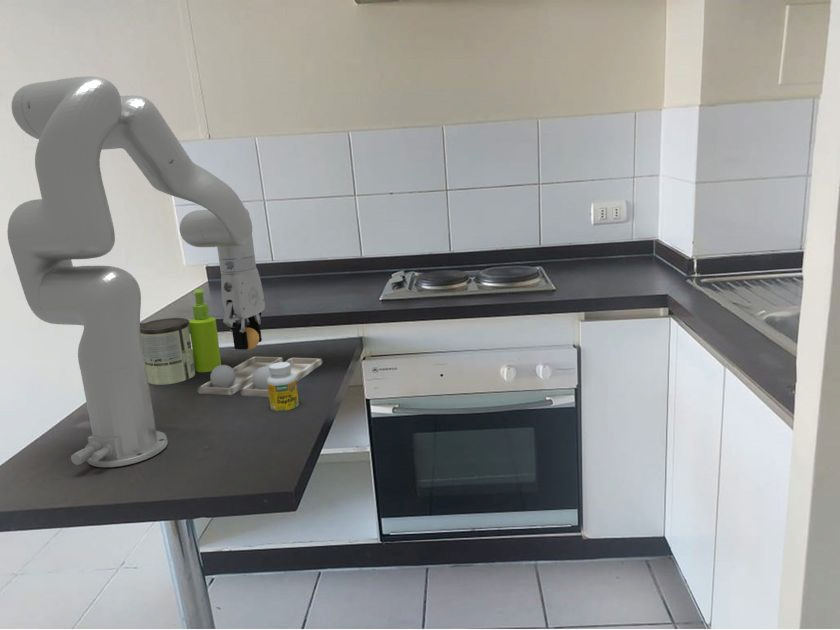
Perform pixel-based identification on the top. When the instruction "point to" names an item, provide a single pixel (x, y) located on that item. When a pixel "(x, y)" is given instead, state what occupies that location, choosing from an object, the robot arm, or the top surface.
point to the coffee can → (167, 351)
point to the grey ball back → (222, 376)
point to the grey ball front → (261, 377)
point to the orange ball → (252, 337)
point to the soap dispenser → (204, 336)
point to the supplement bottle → (282, 387)
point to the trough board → (249, 367)
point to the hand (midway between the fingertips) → (248, 344)
